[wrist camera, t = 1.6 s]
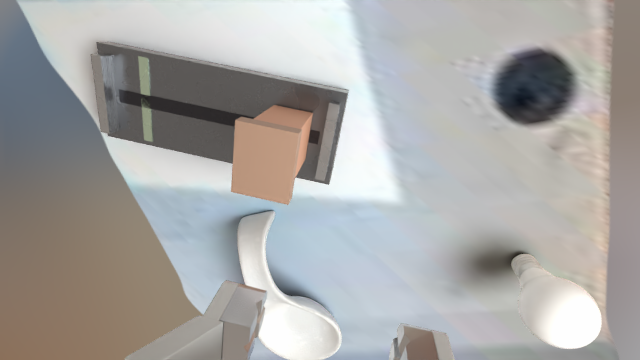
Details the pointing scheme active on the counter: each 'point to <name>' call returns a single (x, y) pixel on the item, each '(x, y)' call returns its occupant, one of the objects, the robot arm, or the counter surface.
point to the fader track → (206, 104)
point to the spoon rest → (284, 301)
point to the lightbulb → (555, 306)
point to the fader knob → (270, 153)
